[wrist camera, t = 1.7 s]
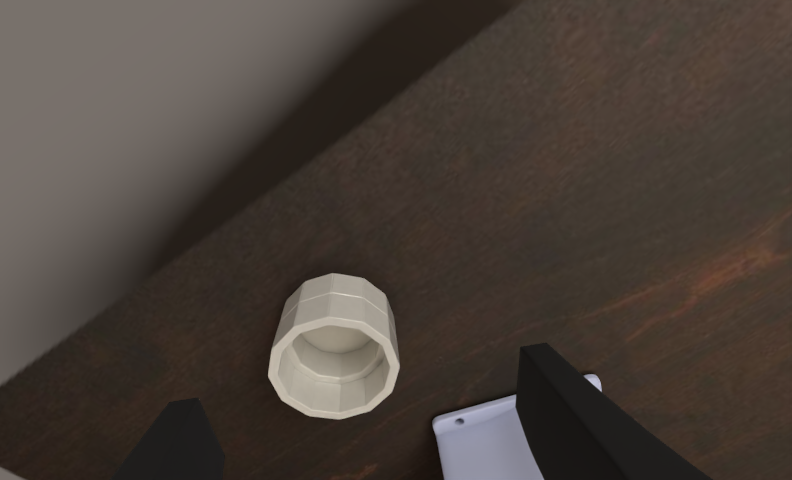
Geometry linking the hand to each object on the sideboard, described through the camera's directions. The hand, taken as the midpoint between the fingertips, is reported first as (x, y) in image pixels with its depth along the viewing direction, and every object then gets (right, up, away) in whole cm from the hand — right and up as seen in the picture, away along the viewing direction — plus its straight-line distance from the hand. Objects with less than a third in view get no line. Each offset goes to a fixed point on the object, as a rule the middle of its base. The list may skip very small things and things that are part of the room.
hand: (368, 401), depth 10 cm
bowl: (-2, 0, +11) cm, 12 cm away
